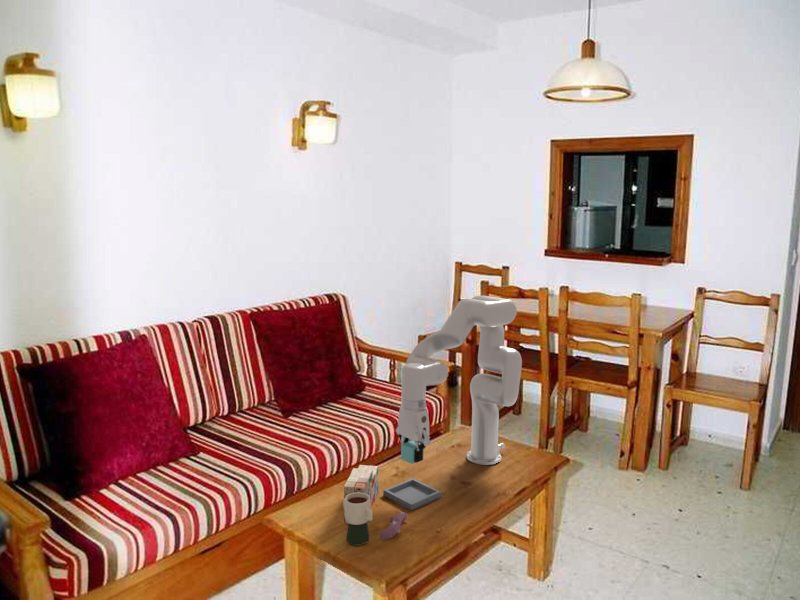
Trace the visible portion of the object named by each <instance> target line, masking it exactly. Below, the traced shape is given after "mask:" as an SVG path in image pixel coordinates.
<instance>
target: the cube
mask: <svg viewBox="0 0 800 600" xmlns="http://www.w3.org/2000/svg"><path fill="white" fill-rule="evenodd" d="M419 445H420V442H419ZM415 450H416V447H415V441H413V440H409V442H406V443H403V444H401V443H400V460H402V461H405V462H407V463H408V464H411V465H413V464H416V462H414V456H415ZM424 450H425V449H423V456H424V453H425V451H424Z"/></svg>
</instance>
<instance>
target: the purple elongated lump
mask: <svg viewBox="0 0 800 600" xmlns="http://www.w3.org/2000/svg"><path fill="white" fill-rule="evenodd" d="M408 516H409V514H408V513H406V512H404V511H402V510H400V511H399V512H398V513H397V514H395V515H394V516H392V517H391V518H390V519H389V526H388V527H386V528H385V529H383V530H382V531H380V533H379V539H381V540H388V539H390V538H392V537H393V538H394V537H395V536H396V534H400V533H401V530H402V526H403V525H404V523H405V522H406V520H407V518H408Z"/></svg>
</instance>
